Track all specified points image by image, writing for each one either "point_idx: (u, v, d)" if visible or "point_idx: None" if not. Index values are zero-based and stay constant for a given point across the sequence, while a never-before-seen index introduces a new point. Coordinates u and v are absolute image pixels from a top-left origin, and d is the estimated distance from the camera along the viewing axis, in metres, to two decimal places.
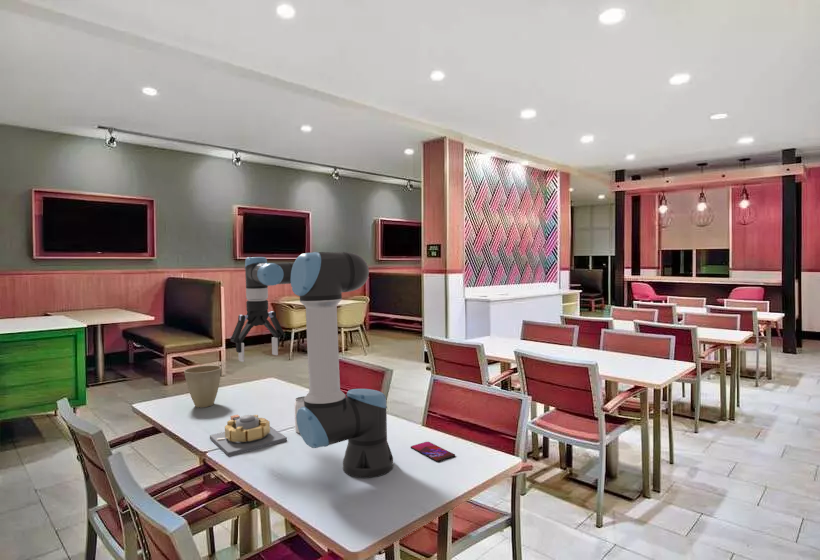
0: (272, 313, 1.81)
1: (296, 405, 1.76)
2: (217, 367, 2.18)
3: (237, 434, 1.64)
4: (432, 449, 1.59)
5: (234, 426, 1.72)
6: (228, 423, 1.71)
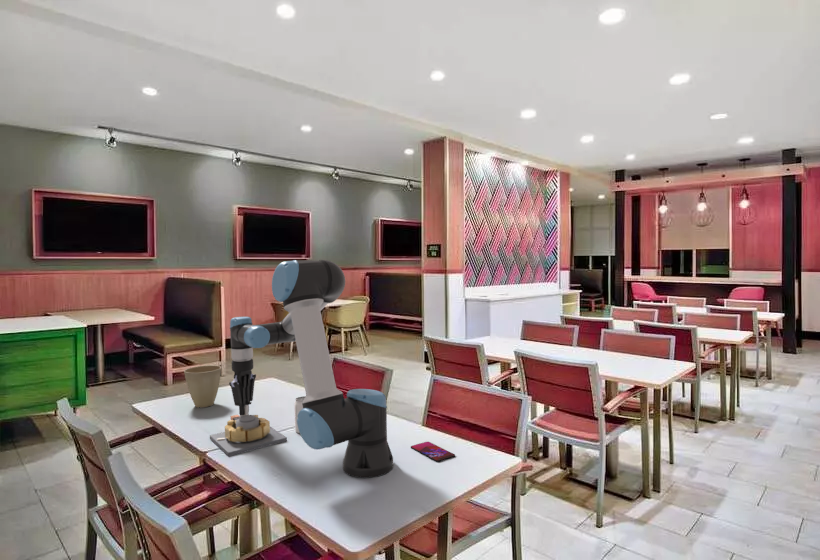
0: (253, 375, 1.85)
1: (296, 405, 1.76)
2: (217, 367, 2.18)
3: (237, 434, 1.64)
4: (432, 449, 1.59)
5: (234, 426, 1.72)
6: (228, 423, 1.71)
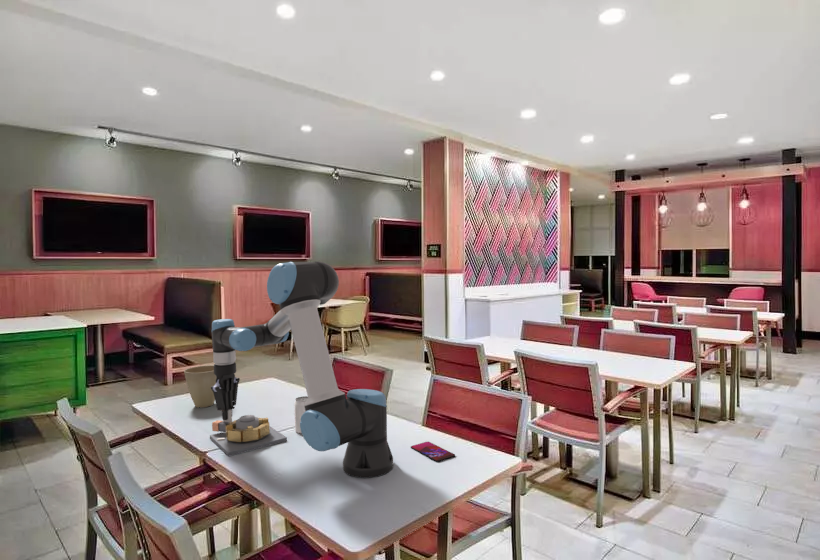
0: (236, 379, 1.80)
1: (296, 405, 1.76)
2: None
3: (250, 433, 1.65)
4: (432, 449, 1.59)
5: None
6: (227, 427, 1.68)
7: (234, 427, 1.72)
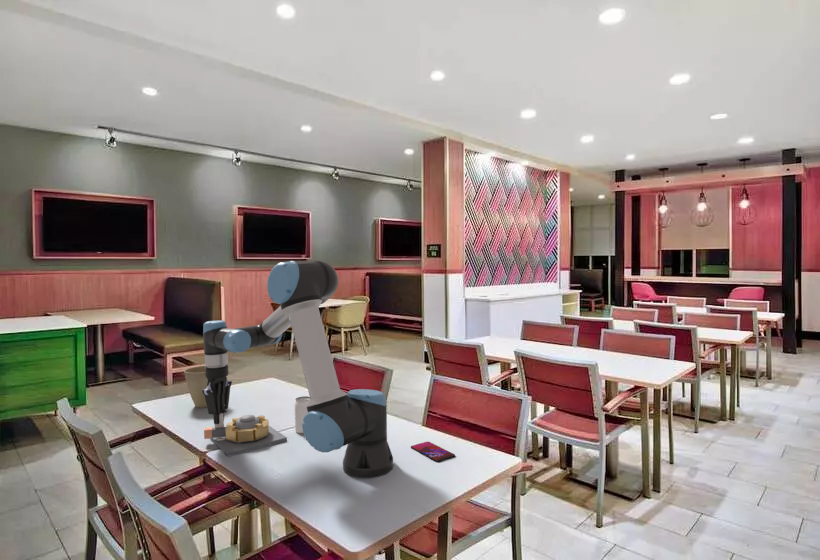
0: (229, 382, 1.75)
1: (296, 405, 1.76)
2: None
3: (261, 430, 1.68)
4: (432, 449, 1.59)
5: None
6: (233, 429, 1.65)
7: None
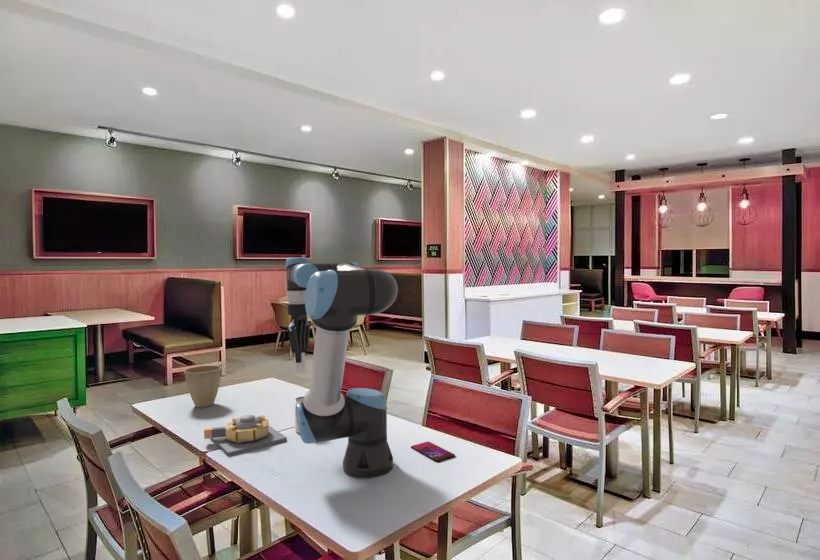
0: (308, 321, 1.72)
1: None
2: (217, 367, 2.18)
3: (261, 430, 1.68)
4: (432, 449, 1.59)
5: None
6: (233, 429, 1.65)
7: None
